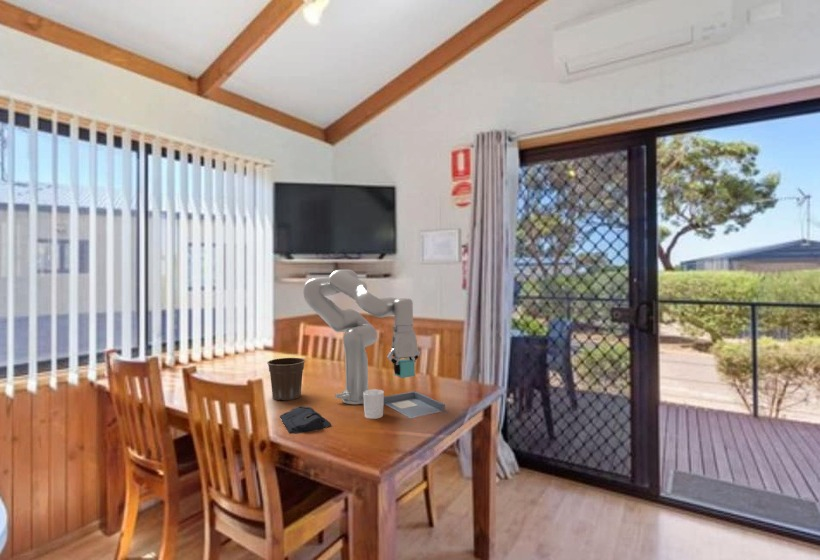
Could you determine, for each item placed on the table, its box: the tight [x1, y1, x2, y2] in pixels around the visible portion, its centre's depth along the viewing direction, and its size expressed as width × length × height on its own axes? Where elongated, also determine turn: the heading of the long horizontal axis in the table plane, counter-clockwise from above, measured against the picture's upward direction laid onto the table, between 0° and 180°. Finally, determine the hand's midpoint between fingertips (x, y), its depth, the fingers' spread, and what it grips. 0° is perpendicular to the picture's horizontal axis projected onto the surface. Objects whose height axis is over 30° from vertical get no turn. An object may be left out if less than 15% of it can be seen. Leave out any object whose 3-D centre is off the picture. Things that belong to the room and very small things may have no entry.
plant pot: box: [266, 357, 306, 401], centre depth 199 cm, size 16×16×16 cm
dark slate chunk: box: [279, 406, 332, 435], centre depth 167 cm, size 15×22×5 cm
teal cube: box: [394, 358, 416, 379], centre depth 182 cm, size 6×6×6 cm
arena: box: [384, 390, 446, 419], centre depth 180 cm, size 16×22×4 cm
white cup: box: [363, 388, 385, 420], centre depth 170 cm, size 8×8×10 cm
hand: (404, 372), depth 182 cm, fingers closed on teal cube, 6 cm apart
